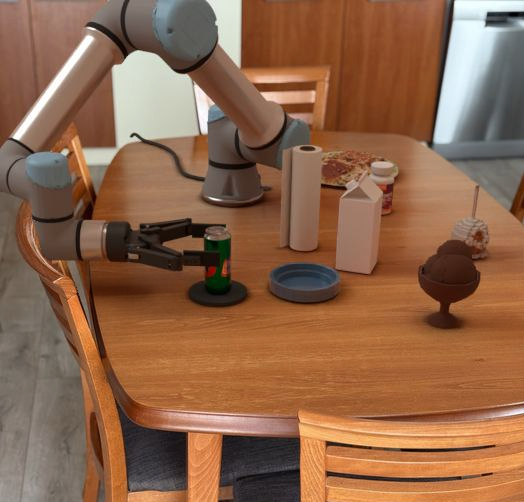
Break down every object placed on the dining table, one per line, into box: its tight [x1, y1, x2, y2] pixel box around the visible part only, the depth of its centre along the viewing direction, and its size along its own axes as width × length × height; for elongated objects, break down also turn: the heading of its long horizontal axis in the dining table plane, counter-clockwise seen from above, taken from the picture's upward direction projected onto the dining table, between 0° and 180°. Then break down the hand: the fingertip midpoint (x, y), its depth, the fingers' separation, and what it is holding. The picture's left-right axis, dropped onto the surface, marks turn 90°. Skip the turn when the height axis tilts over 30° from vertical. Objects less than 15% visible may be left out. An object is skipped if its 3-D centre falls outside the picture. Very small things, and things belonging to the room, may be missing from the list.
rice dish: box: [321, 148, 400, 187], centre depth 229 cm, size 28×28×5 cm
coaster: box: [188, 279, 248, 308], centre depth 162 cm, size 11×11×1 cm
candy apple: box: [449, 184, 491, 260], centre depth 178 cm, size 8×8×15 cm
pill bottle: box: [368, 162, 395, 216], centre depth 202 cm, size 6×6×11 cm
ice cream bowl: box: [417, 239, 482, 329], centre depth 150 cm, size 11×11×15 cm
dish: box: [268, 261, 342, 303], centre depth 164 cm, size 13×13×3 cm
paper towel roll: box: [279, 144, 323, 252], centre depth 179 cm, size 7×6×21 cm
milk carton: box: [334, 170, 383, 275], centre depth 170 cm, size 7×7×19 cm
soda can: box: [203, 226, 232, 295], centre depth 159 cm, size 5×5×12 cm
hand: (223, 244), depth 157 cm, fingers open, 13 cm apart
